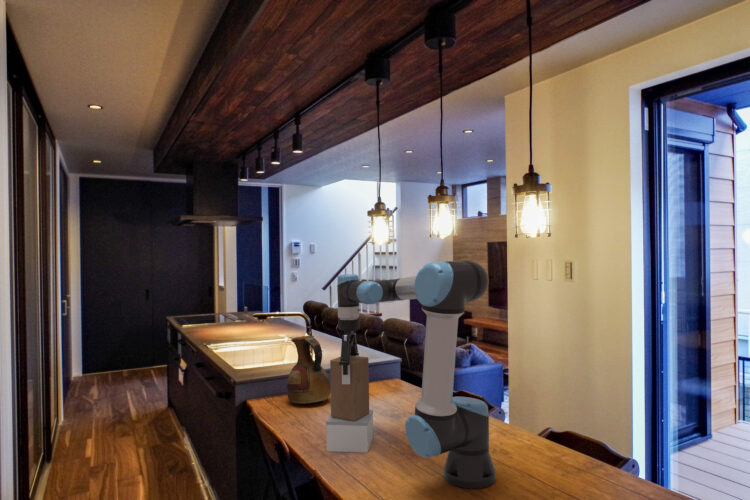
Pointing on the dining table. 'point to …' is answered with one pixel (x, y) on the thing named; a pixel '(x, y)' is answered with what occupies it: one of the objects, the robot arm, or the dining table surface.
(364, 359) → the wooden block
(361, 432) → the base brick
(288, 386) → the ceramic pitcher
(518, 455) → the dining table surface
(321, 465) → the dining table surface
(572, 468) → the dining table surface
